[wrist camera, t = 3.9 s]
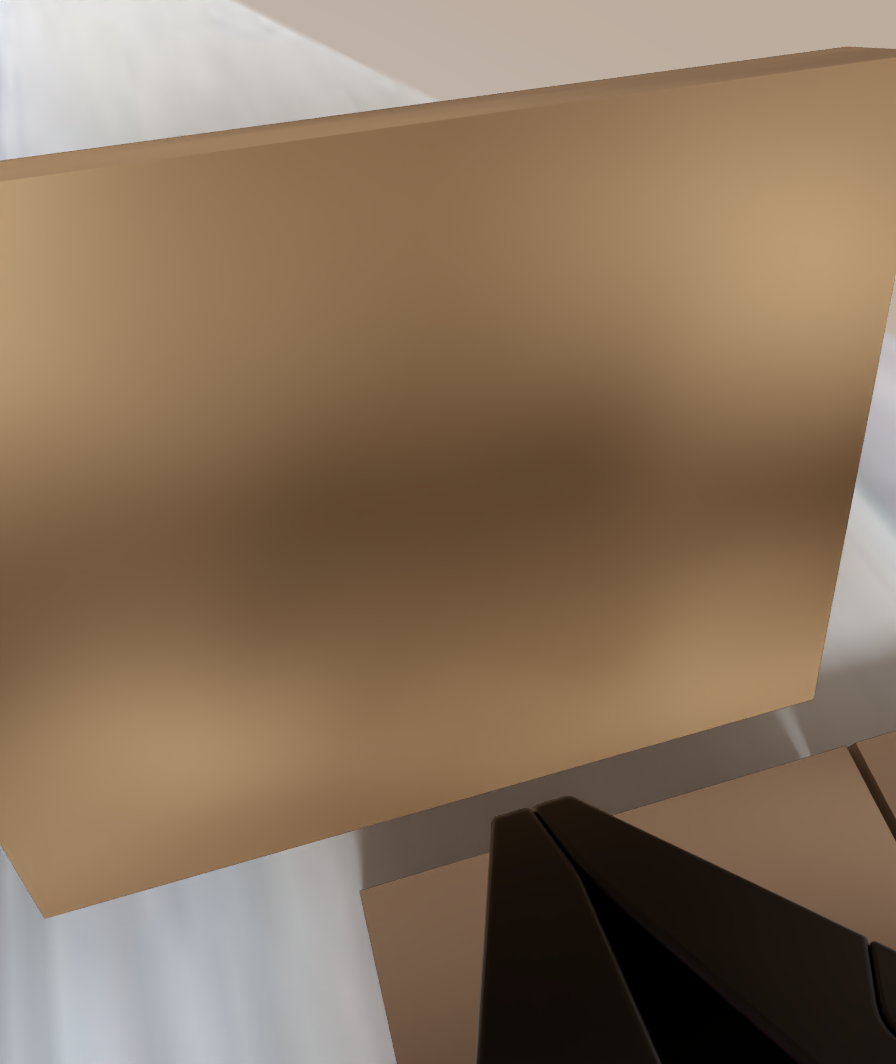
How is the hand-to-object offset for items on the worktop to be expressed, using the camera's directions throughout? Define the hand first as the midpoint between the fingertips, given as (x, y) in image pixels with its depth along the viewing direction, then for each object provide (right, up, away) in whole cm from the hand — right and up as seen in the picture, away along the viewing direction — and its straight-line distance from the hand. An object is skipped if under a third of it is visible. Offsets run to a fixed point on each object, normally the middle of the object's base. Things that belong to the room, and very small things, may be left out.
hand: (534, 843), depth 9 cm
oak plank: (-2, +4, +4) cm, 6 cm away
